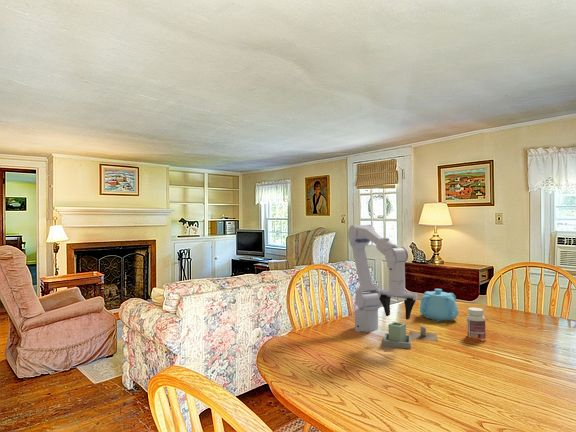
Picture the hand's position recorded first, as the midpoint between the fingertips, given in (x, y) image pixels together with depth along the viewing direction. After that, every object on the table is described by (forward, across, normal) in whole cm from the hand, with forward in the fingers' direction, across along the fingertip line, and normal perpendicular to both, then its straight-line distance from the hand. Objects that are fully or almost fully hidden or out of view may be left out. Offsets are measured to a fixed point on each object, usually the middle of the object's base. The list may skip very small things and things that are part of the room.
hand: (397, 317), depth 134 cm
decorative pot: (+10, -1, -43) cm, 45 cm away
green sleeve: (+9, 0, +1) cm, 9 cm away
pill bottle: (+10, -21, -23) cm, 33 cm away
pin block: (+10, -5, -12) cm, 16 cm away
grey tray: (+10, 0, +1) cm, 10 cm away
